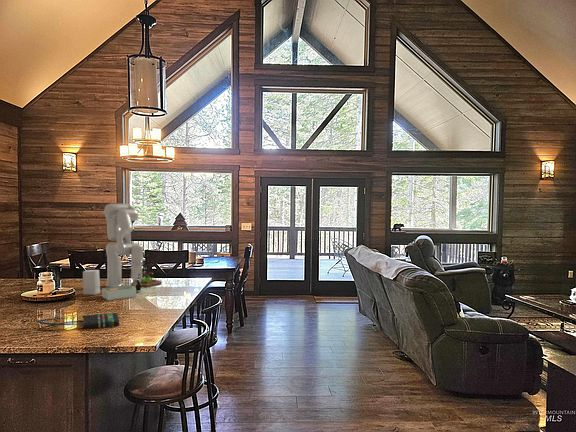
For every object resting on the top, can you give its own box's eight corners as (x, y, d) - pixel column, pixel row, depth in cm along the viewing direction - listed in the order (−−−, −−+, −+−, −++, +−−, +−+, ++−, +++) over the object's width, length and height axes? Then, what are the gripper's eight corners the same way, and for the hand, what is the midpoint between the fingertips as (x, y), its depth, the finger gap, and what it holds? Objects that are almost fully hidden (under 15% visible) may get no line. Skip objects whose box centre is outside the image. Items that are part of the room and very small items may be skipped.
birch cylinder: (131, 290, 278) (131, 280, 278) (139, 289, 281) (139, 279, 281) (134, 291, 274) (134, 281, 274) (141, 291, 277) (141, 280, 277)
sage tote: (102, 296, 262) (102, 288, 262) (129, 293, 273) (129, 285, 273) (107, 300, 252) (107, 291, 252) (136, 297, 262) (136, 288, 262)
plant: (125, 286, 297) (125, 271, 296) (143, 282, 315) (143, 267, 315) (148, 288, 290) (148, 273, 290) (165, 284, 309) (165, 269, 308)
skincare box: (100, 293, 273) (100, 269, 273) (94, 295, 267) (94, 271, 266) (88, 292, 274) (88, 269, 274) (82, 294, 268) (82, 271, 267)
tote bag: (119, 319, 199) (36, 326, 184) (119, 329, 199) (35, 337, 184) (117, 309, 218) (40, 315, 203) (116, 318, 218) (40, 324, 203)
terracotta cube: (107, 296, 260) (107, 289, 260) (115, 295, 263) (115, 288, 263) (109, 298, 256) (109, 290, 256) (117, 297, 259) (117, 289, 259)
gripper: (127, 261, 281) (127, 287, 282) (135, 265, 268) (135, 292, 269) (138, 260, 286) (138, 286, 287) (146, 264, 272) (146, 291, 273)
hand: (136, 289), depth 278 cm, fingers closed on birch cylinder, 4 cm apart
